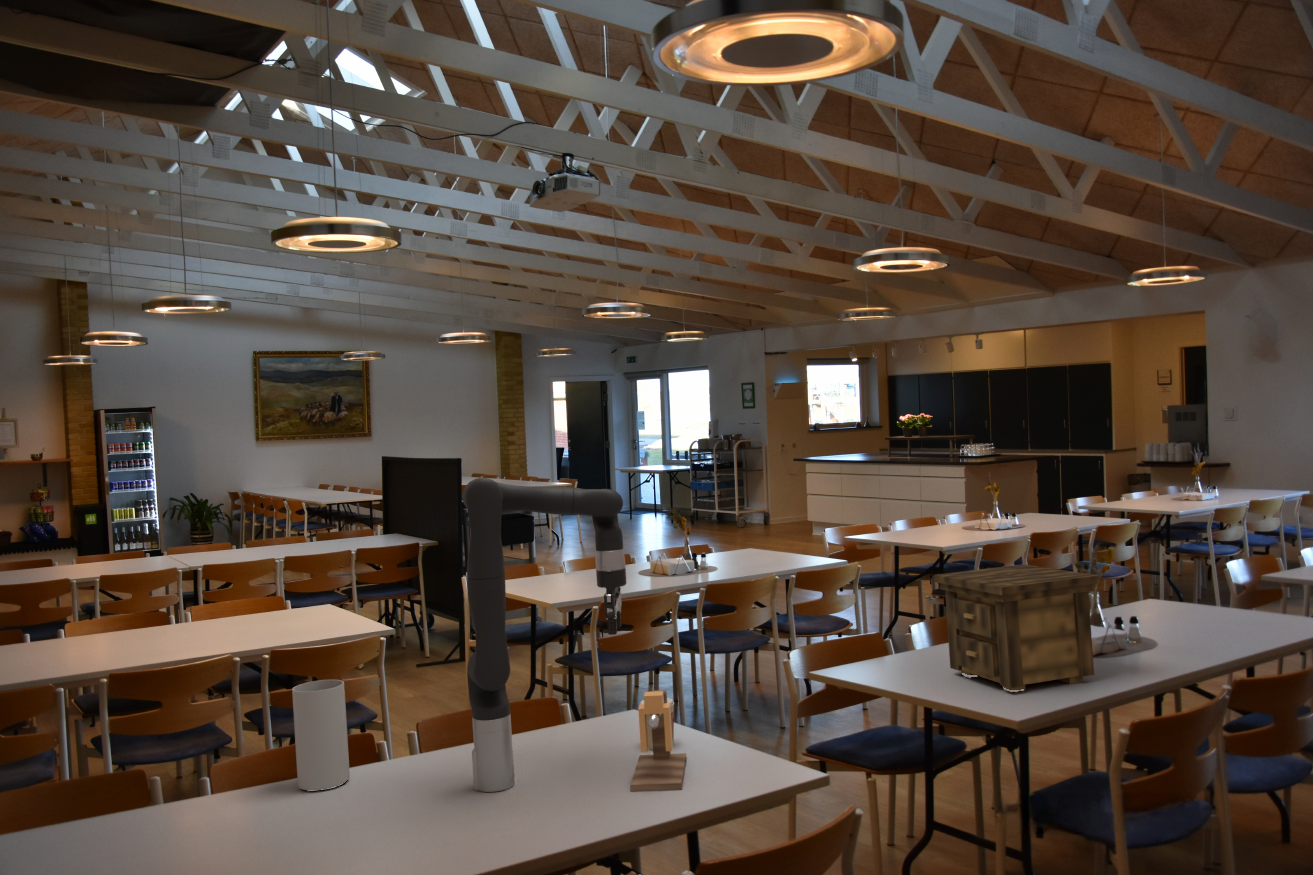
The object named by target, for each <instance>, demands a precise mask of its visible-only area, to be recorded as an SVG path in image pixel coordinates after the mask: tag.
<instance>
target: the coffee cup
mask: <svg viewBox="0 0 1313 875" xmlns="http://www.w3.org/2000/svg"><path fill="white" fill-rule="evenodd" d="M667 703H670V710H671V726H672V742H673V746H674V744H675V743H674V741H675V740H674V737H675V736H674V735H675V732H674V731H675V728H674V727H675V724H674V723H675V722H674V721H675V714H674V712H675V710H674V708H675V707H674V706H675V702H674V699H673V698H671V697H667ZM640 704H644V699H642V700H641V701H640V702H639V705H638V707H639V706H640ZM649 717H650V714H646V718H647V734H648V750H649V749H650V751H653V742H652V729H651V728H649V727H648V721H649Z"/></svg>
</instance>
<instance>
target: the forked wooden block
mask: <svg viewBox="0 0 1313 875" xmlns="http://www.w3.org/2000/svg"><path fill="white" fill-rule="evenodd" d="M643 700H644V704H640V703H639V705H640V706H639V705H638V723H639V724H638V725H639V726H638V727H639V741H640V753H647V752H648V751H649V749H648V734H647V718H646V714H664V729H665V745H666V751H670V752H672V751H673V747H674V745H673V742H672V726H671V710H670V703H664V696H663V691H655V692H651V691H645V692H644V695H643Z"/></svg>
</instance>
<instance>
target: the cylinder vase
mask: <svg viewBox="0 0 1313 875" xmlns="http://www.w3.org/2000/svg"><path fill="white" fill-rule="evenodd" d="M291 691H292V693H291V694H292V708H293V709H292V710H293V726H294V728H293V729H294V740H295V742H294V744H295V757H296V758H295V759H296V760H295V761H296V773H297V775H296V776H297V787H298V788H299V789H300V790H301V789H303V790H321V789H327V788H331V787H334V786H338V785H340V784H342V783H345V782H346V781H347V780H348V781H349V780H350V778H351V777H350V773H351V772H350V760H349V758H350V757H349V744H348V743H349V742H348V741H349V740H348V726H347V725H348V724H347V710H346V709H347V708H346V707H347V706H346V692H345V681H344V680H340V679H321V680H314V681H308V682H304V683H301V684H297V685H296V686H294V687H292V689H291ZM348 781H347V782H348ZM347 782H346V783H347ZM346 783H345V784H346ZM303 790H302V791H303Z"/></svg>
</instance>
